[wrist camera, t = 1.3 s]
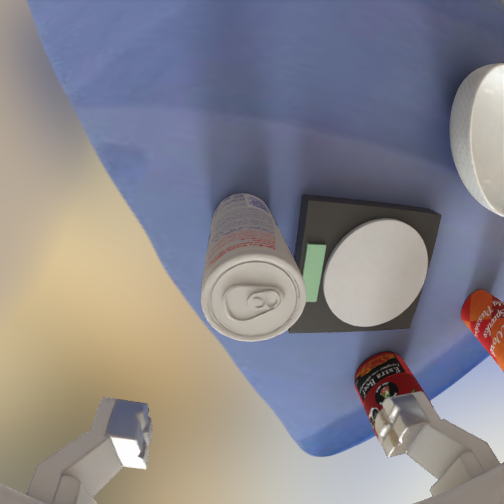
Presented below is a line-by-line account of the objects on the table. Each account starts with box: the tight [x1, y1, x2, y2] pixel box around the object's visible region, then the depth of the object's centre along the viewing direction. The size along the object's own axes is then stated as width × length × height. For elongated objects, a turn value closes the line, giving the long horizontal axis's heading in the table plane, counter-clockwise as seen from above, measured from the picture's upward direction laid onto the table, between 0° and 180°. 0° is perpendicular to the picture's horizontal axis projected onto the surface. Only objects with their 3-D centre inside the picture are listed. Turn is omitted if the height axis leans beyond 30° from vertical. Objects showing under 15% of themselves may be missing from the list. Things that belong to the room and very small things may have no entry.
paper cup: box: [461, 289, 504, 371], centre depth 31 cm, size 8×8×14 cm
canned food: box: [355, 352, 434, 446], centre depth 34 cm, size 8×8×11 cm
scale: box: [288, 195, 441, 333], centre depth 32 cm, size 14×15×3 cm
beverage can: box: [201, 193, 307, 341], centre depth 23 cm, size 6×6×15 cm
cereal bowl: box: [449, 63, 504, 217], centre depth 25 cm, size 17×17×7 cm
